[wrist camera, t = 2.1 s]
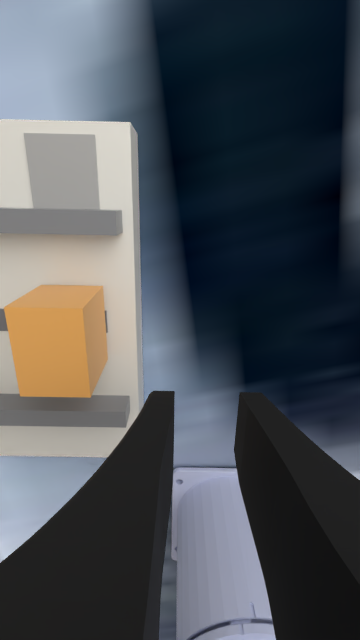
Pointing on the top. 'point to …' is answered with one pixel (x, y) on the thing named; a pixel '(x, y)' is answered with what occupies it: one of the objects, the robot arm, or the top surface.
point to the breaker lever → (58, 340)
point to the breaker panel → (72, 273)
